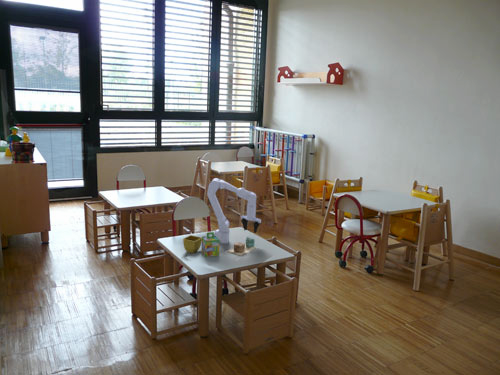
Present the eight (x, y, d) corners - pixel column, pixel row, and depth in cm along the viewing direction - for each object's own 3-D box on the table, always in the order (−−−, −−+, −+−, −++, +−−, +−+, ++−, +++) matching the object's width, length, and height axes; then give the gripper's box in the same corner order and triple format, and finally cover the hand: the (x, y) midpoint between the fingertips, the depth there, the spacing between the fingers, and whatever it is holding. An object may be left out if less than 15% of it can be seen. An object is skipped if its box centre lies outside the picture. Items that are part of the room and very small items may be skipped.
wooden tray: (227, 253, 265) (228, 244, 264) (244, 245, 281) (244, 236, 280) (241, 257, 260) (241, 248, 259) (257, 248, 276) (257, 239, 275)
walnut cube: (233, 251, 266) (233, 244, 265) (237, 249, 270) (238, 242, 269) (240, 253, 263) (240, 246, 262) (244, 251, 267) (244, 243, 266)
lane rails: (217, 257, 259) (217, 255, 259) (240, 245, 281) (240, 243, 281) (236, 263, 252) (236, 260, 252) (258, 250, 274) (258, 248, 274)
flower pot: (202, 250, 269) (202, 237, 267) (194, 255, 261) (194, 241, 259) (190, 248, 272) (190, 234, 270) (182, 252, 265) (182, 238, 263)
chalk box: (204, 259, 256) (205, 236, 252) (200, 254, 264) (201, 231, 261) (219, 258, 259) (220, 234, 256) (215, 252, 267) (215, 230, 264)
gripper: (238, 210, 278) (237, 230, 281) (257, 214, 270) (256, 235, 273) (244, 208, 283) (243, 227, 286) (263, 212, 276) (262, 232, 279)
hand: (250, 231), depth 280 cm, fingers open, 7 cm apart
